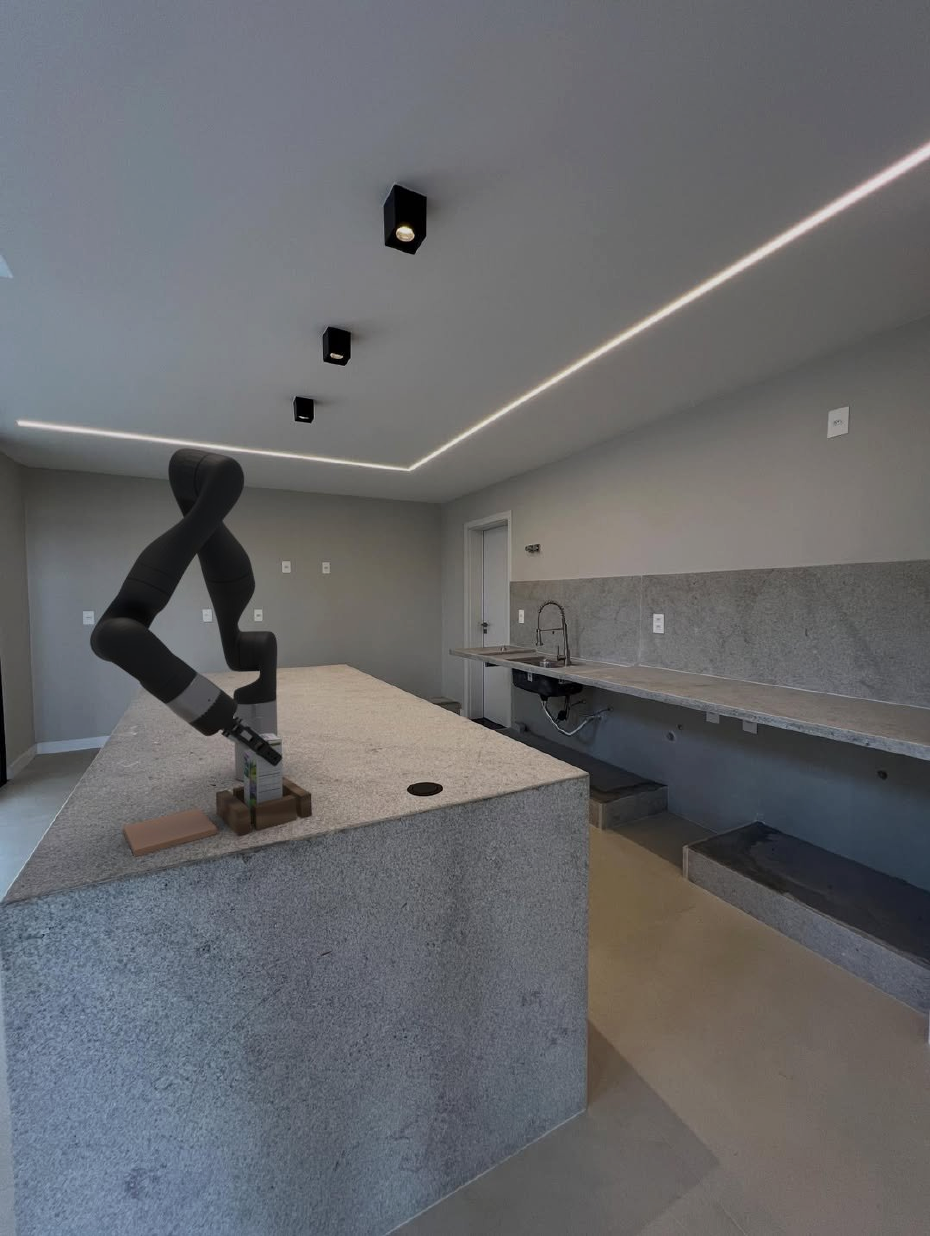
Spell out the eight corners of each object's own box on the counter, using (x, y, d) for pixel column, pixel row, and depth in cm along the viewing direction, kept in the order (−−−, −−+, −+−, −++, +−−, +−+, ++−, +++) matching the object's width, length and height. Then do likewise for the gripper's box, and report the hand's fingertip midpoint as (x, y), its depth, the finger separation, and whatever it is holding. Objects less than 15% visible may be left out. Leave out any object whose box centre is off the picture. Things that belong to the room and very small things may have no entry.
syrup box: (243, 813, 97) (241, 736, 97) (275, 805, 101) (273, 731, 101) (251, 823, 93) (249, 742, 92) (284, 814, 96) (282, 737, 96)
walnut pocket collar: (216, 813, 98) (216, 792, 97) (284, 796, 106) (284, 776, 106) (238, 836, 88) (238, 812, 88) (311, 814, 96) (311, 793, 96)
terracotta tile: (123, 831, 90) (122, 826, 90) (198, 813, 98) (198, 807, 98) (134, 856, 81) (134, 850, 81) (217, 833, 89) (216, 827, 89)
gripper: (230, 691, 86) (301, 748, 94) (206, 682, 97) (271, 734, 105) (196, 728, 83) (272, 784, 91) (175, 714, 93) (245, 766, 102)
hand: (271, 757), depth 98 cm, fingers closed on syrup box, 6 cm apart
